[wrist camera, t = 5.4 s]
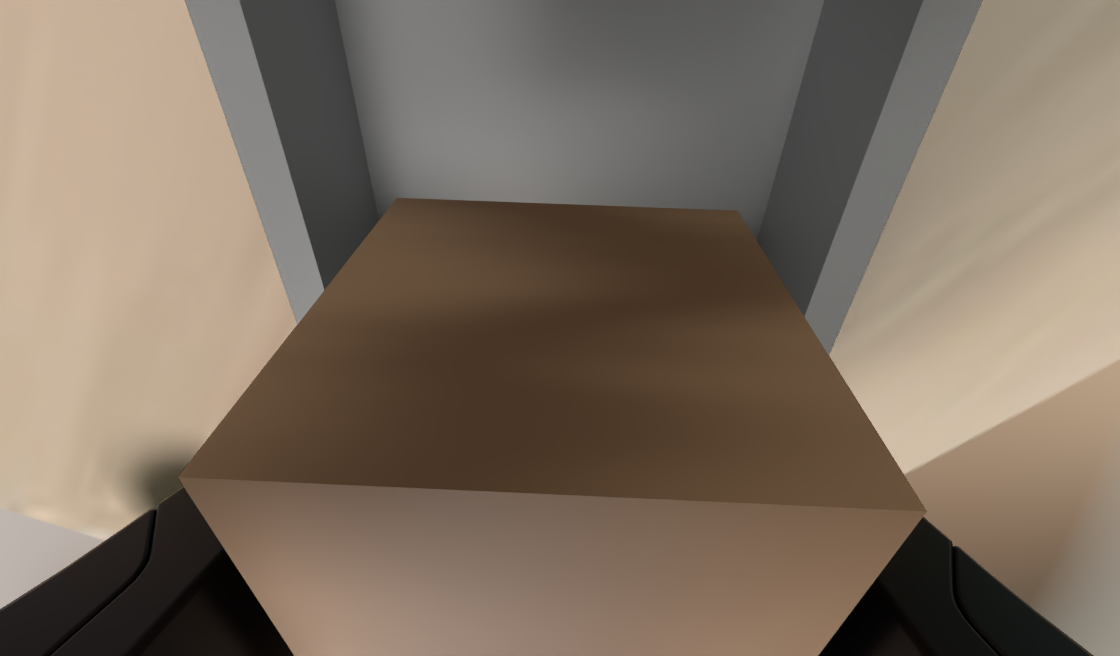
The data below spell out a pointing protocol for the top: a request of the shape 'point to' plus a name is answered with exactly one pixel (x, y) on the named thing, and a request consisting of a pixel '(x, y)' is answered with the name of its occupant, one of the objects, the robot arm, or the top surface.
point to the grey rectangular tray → (584, 116)
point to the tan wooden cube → (553, 447)
